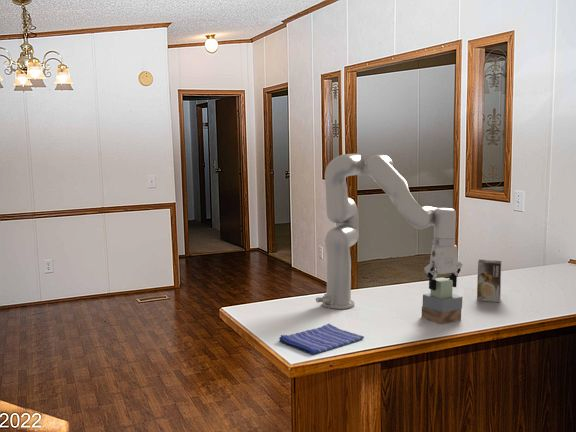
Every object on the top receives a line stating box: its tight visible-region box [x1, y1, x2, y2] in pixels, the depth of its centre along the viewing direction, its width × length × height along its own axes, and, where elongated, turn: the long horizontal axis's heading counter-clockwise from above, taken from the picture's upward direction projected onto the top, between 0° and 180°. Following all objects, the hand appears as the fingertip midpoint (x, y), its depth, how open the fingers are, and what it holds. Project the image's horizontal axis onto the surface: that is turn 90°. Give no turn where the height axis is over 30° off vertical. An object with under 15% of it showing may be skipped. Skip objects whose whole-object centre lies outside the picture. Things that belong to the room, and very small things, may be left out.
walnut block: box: [421, 305, 462, 325], centre depth 227 cm, size 10×10×4 cm
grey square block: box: [422, 292, 463, 313], centre depth 227 cm, size 10×10×4 cm
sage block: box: [430, 277, 454, 298], centre depth 226 cm, size 6×6×6 cm
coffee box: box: [476, 259, 502, 303], centre depth 253 cm, size 9×6×16 cm
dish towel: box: [279, 323, 365, 356], centre depth 203 cm, size 17×24×3 cm
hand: (442, 288), depth 226 cm, fingers open, 9 cm apart
